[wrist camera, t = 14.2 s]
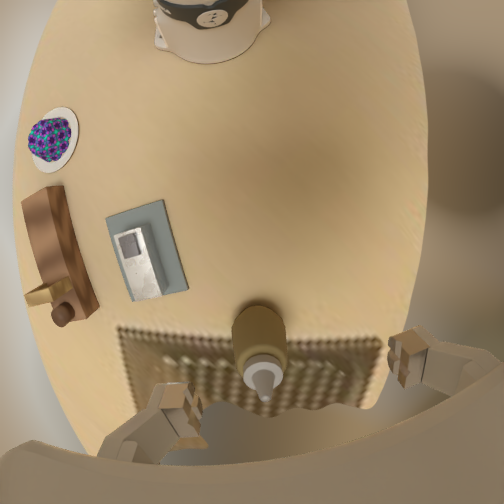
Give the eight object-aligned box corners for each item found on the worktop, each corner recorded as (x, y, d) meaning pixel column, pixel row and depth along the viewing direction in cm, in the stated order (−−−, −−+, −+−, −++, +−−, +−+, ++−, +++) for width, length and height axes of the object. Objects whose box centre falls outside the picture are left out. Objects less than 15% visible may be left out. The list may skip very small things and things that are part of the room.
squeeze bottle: (285, 336, 44) (306, 413, 26) (238, 345, 44) (236, 425, 26) (277, 293, 42) (299, 362, 24) (226, 303, 42) (217, 376, 25)
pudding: (27, 164, 35) (9, 164, 30) (47, 103, 33) (31, 98, 28) (66, 180, 37) (48, 181, 32) (90, 113, 34) (74, 106, 29)
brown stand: (38, 199, 37) (-2, 205, 26) (63, 185, 36) (22, 188, 26) (73, 311, 42) (42, 338, 31) (99, 306, 42) (69, 335, 31)
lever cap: (124, 230, 38) (111, 236, 33) (149, 223, 38) (138, 228, 33) (144, 291, 40) (133, 303, 36) (169, 286, 40) (160, 298, 36)
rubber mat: (107, 217, 38) (105, 218, 37) (163, 199, 38) (161, 199, 37) (133, 299, 41) (132, 301, 41) (188, 288, 41) (187, 289, 40)
